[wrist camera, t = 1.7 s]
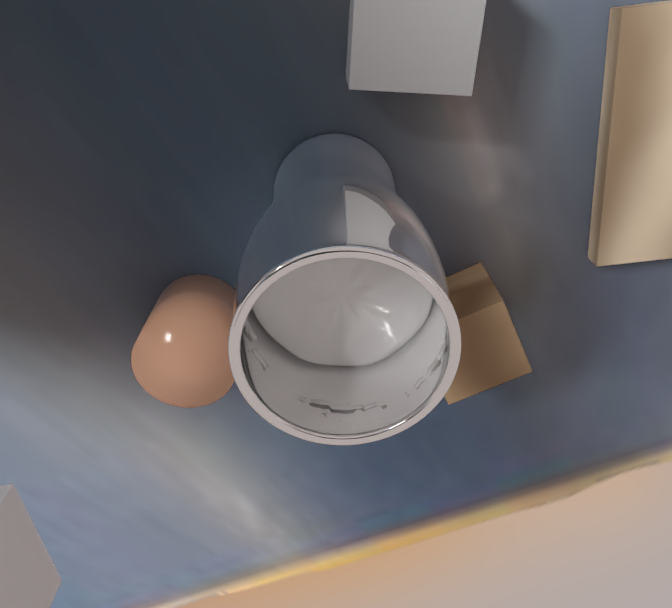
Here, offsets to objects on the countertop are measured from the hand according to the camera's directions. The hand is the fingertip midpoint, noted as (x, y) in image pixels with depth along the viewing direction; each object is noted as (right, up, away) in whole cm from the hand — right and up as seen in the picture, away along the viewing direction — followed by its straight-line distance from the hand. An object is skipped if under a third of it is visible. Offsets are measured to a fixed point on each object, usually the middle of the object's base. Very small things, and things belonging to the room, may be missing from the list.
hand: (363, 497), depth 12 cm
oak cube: (+6, +3, +22) cm, 23 cm away
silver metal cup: (-1, +9, +19) cm, 21 cm away
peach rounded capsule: (-8, +3, +22) cm, 23 cm away
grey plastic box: (+3, +16, +15) cm, 22 cm away
